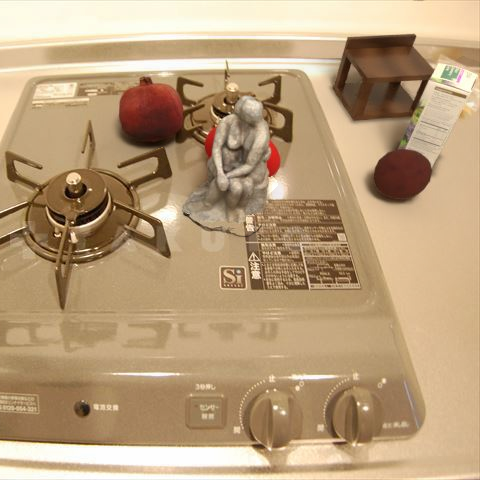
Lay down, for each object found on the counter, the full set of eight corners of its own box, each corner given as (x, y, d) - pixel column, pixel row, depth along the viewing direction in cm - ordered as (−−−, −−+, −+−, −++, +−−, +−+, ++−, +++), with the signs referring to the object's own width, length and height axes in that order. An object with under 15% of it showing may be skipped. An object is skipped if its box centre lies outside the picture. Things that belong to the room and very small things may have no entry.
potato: (430, 198, 80) (450, 160, 74) (392, 216, 77) (410, 178, 72) (393, 170, 84) (409, 132, 79) (355, 185, 81) (370, 147, 76)
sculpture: (182, 80, 67) (269, 71, 70) (170, 194, 79) (244, 182, 82) (217, 130, 59) (312, 117, 62) (198, 247, 72) (278, 231, 75)
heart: (210, 98, 77) (214, 139, 86) (194, 128, 76) (199, 166, 85) (289, 123, 74) (285, 163, 83) (274, 155, 72) (271, 192, 81)
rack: (395, 84, 101) (414, 33, 93) (420, 116, 94) (443, 63, 87) (332, 88, 99) (347, 36, 92) (353, 120, 93) (371, 67, 85)
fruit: (110, 148, 88) (98, 84, 84) (155, 132, 94) (145, 72, 90) (156, 152, 80) (144, 82, 76) (201, 134, 86) (192, 69, 82)
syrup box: (401, 143, 89) (436, 60, 78) (438, 155, 87) (480, 72, 76) (391, 162, 85) (427, 78, 75) (430, 175, 83) (472, 91, 73)
